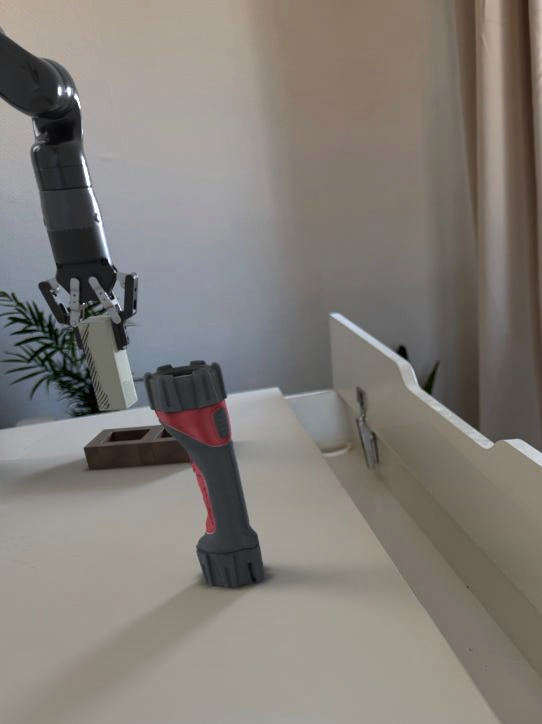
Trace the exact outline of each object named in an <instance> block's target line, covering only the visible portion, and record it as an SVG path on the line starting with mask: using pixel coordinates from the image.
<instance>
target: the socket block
mask: <svg viewBox="0 0 542 724" xmlns="http://www.w3.org/2000/svg"><path fill="white" fill-rule="evenodd" d="M82 448H83V452H84V456H85V459H86V463H87V467H88V471H96V470H108V469H109V470H110V469H122V468H132V467H145V466H158V465H159V466H160V465H169V464H170V465H171V464H182V463H191V462H192V460H191V462H190V457H189V455H188V453H187V451H186V450H185V448H184V447H183V446H182V445H181V444H180V443H179V442H178V441H177V440H176V439H175V438H174V437H173V436H172V435H170V434H169V433H168V432H167V431H166V430H165V429H164V427H163V426H162V425H161V424H155V425H143V426H128V427H118V428H117V427H116V428H107V429H106V428H105V429H102V430H101V431H100V432H99V433H97V435H96V436H95V437H93V438H92V439H91V440H90V441H89V442H88V443H87V444H86V445H85V446H83V447H82ZM192 463H193V462H192Z"/></svg>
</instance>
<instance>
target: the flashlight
mask: <svg viewBox="0 0 542 724" xmlns="http://www.w3.org/2000/svg"><path fill="white" fill-rule="evenodd" d="M142 378H143V385H144V388H145V392H146V393H145V394H146V396H147V400H148V405H149V409H150V410H151V411H154V413H155V416H156V417H157V419H158V422H159V423H160V424H159V425H162V426H163V427H164V429H165V430H166V431H167V432H168V433H169V434H170V435H172V436H173V437H174V438H175V439H176V440H177V441H178V442H179V443H180V444H181V445H182V446H183V447H184V448H185V450H186V451H187V453H188V455H189V457H190V462H189V463H190V464H191V468H192V471H193V473H194V474H195V477H196V482H197V485H198V487H199V489H200V492H201V495H202V500H203V503H204V506H205V508H206V509H205V510H206V512H207V515H206V518H205V519H206V520H205V532H204V534H203V535H202V536H201V537H200V538H199V539H198V542H197V544H196V545H195V547H196V550H195V553H196V556H197V559H198V562H199V565H200V569H201V573H202V575H203V580H204V582H205V584H206V585H209V586H210V587H213V586H214V587H215V586H218V587H224V588H225V589H237V588H239V587H241V586H245V585H249V584H260V583H262V582H264V581H265V580H266V579H267V576H266V570H265V566H264V561H263V556H262V549H261V545H260V539H259V535H258V533H257V531H256V530H254V529H253V527H252V526H251V524H250V517H249V512H248V507H247V502H246V498H245V494H244V489H243V483H242V479H241V473H240V469H239V464H238V460H237V456H236V451H235V446H234V445H235V444H234V441H233V439H232V435H233V434H232V425H231V420H230V415H229V409H228V407H227V403H226V399H228V398H229V397H228V396H229V395H228V392H227V388H226V382H225V379H224V373H223V370H222V367H221V364H220V363H219V362H217V361H213V362H211V363H210V364H207V362H206V361H205V360H202V359H200V360H199V359H197V360H190V361H189V365H181V366H175V367H173V365H172V364H171V363H170V364H169V363H168V364H164V365H161V366H158V367H157V368H156V370H155V372H154V373H152V372H151V371H147V372H145V373H144V374H143V377H142ZM191 460H192V462H191Z"/></svg>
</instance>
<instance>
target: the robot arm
mask: <svg viewBox="0 0 542 724" xmlns="http://www.w3.org/2000/svg"><path fill="white" fill-rule="evenodd" d="M78 91H79V90H78V89H77V86H76V83H75V81H74V78H73V77H72V75H71V73H70V72H69V70H68V69H66V68H65V66H64V65H62V64H61V63H59V62H58V61H56V60H54V59H50V58H45V57H39V56H37V55H35V54H33V53H31V52H30V51H28V50H26V49H25V48H24V47H22V46H21V45H20V44H18V43H17V42H16V41H14V40H13V39H12V38H10V37H9V36H7V35H6V33H5V31H4V29H3V28H2V26H0V99H1V100H3V102H5V103H6V104H8V105H9V106H10V107H11V108H14V110H16V111H18V112H19V113H21V114H23V115H24V116H27V117H30V118H31V123H32V129H33V136H34V141H33V143H32V145H31V146H30V148H29V156H30V162H31V167H32V171H33V174H34V178H35V184H36V186H37V190H38V196H39V200H40V209H41V214H42V219H43V220H42V221H43V224H44V227H45V230H46V233H47V237H48V242H49V245H50V249H51V253H52V256H53V261H54V264H55V265H56V267H55V268H56V269H55V276H54V277H51V278H50V279H44V280H42V281H40V282H38V285H37V287H38V289H39V292H40V293H41V295H42V297H43V299H44V300H45V302H46V304H47V306H48V307H49V309H50V311H51V313H52V315H53V317H54V318H55V320H56V322H57V323H58V324H61V325H63V324H64V325H68V326H70V327H71V328H72V329H73V334H74V337H75V342H76V345H77V348H78V349H79V350H80V351H82V352H83V354H84V355H85V351H84V347H83V344H82V340H81V336H80V332H79V328H78V325H77V323H79V322H81V321H83V320H85V310H86V307H87V303H89V302H96V303H98V302H100V303H101V305H102V307H103V308H104V310H106V312H107V313H108V315H110V317H111V319H112V320H113V322H114V324H113V329H114V333H115V337H116V342H117V346H118V349H119V351H120V350H125V349H126V350H127V349H128V346H129V345H130V343H131V342H130V341H131V339H130V335H129V330H128V326H127V320H129V319H130V318H132V317H134V316H136V315H137V312H138V296H139V295H138V294H139V293H138V292H139V275H138V273H136V272H130V273H128V272H125V271H124V272H123V271H119V270H118V268H117V267H116V266H115V264H114V263H113V260H112V255H111V250H110V247H109V241H108V238H107V234H106V229H105V225H104V221H103V215H102V211H101V207H100V203H99V201H98V198H97V195H96V192H95V190H94V186H93V182H92V177H91V173H90V168H89V164H88V160H87V157H86V154H85V148H84V147H85V146H84V127H83V126H84V125H83V115H82V106H81V101H80V95H79V92H78ZM117 281H119V283H120V284H119V285H120V287H121V288H122V289H124V292H123V294H124V296H123V309H122V307H121V306H120V303H119V300H118V297H117V296H116V293H115V292H114V291H113V290H114V287H115V285H116V283H117ZM60 287H62V288H63V290H64V291H66V292H67V293H68V295H69V311H70V312H69V311H68V308H67V306H66V305H65V303H64V301H63V299H62V298H61V296H60V291H61V289H60Z"/></svg>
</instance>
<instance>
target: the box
mask: <svg viewBox="0 0 542 724" xmlns="http://www.w3.org/2000/svg"><path fill="white" fill-rule="evenodd" d="M113 324H114V322H113V320H112V319H111V317H110V315H109V314H107V315H92V316H89V317H87V318H84V320H83V321H81V322H79V323H77V325H78V328H79V332H80V336H81V340H82V344H83V347H84V351H85V354H84V355H85V359H86V365H87V367H88V371H89V375H90V378H91V383H92V387H93V391H94V395H95V398H96V403H97V407H98V410H99V411H100V412H101V411H102V412H104V411H105V412H106V411H124V410H128V409H129V408H130V407H131V406H133V405H135V404H136V403H137V402H138V401H139V400H138V399H139V398H138V394H137V391H136V387H135V382H134V378H133V374H132V370H131V365H130V360H129V357H128V353H127V349H125V350H120V351H119V349H118V346H117V342H116V337H115V333H114V329H113Z"/></svg>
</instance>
